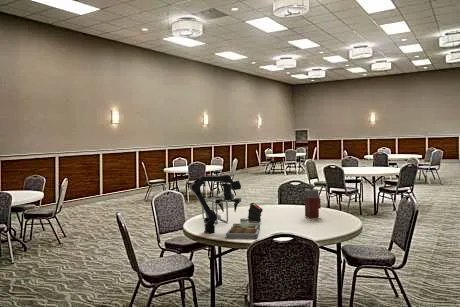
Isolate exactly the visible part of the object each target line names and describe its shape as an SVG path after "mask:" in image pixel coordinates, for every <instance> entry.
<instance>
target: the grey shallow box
mask: <svg viewBox="0 0 460 307" xmlns="http://www.w3.org/2000/svg"><path fill="white" fill-rule="evenodd" d="M259 235H260V230H257V232H256V234H237V233H231V228H230V229H228V231H227V232H226V233H225V238H226V239H247V238H250V240H253V239H258V237H259Z"/></svg>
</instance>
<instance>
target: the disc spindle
mask: <svg viewBox="0 0 460 307" xmlns="http://www.w3.org/2000/svg"><path fill="white" fill-rule="evenodd" d="M239 221H240V222H239V224H240V227H241V228H248V224H249V221H248V217H247V218H245V217H243V218H240V219H239Z"/></svg>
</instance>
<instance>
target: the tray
mask: <svg viewBox="0 0 460 307" xmlns="http://www.w3.org/2000/svg"><path fill="white" fill-rule="evenodd" d="M230 229H231V233H237V234H256V232H257V230H259V231H261V224H260V223H248V228H241V227H240V223H237V222H236V223H235V222H233V224H232V226H231V228H230Z"/></svg>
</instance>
